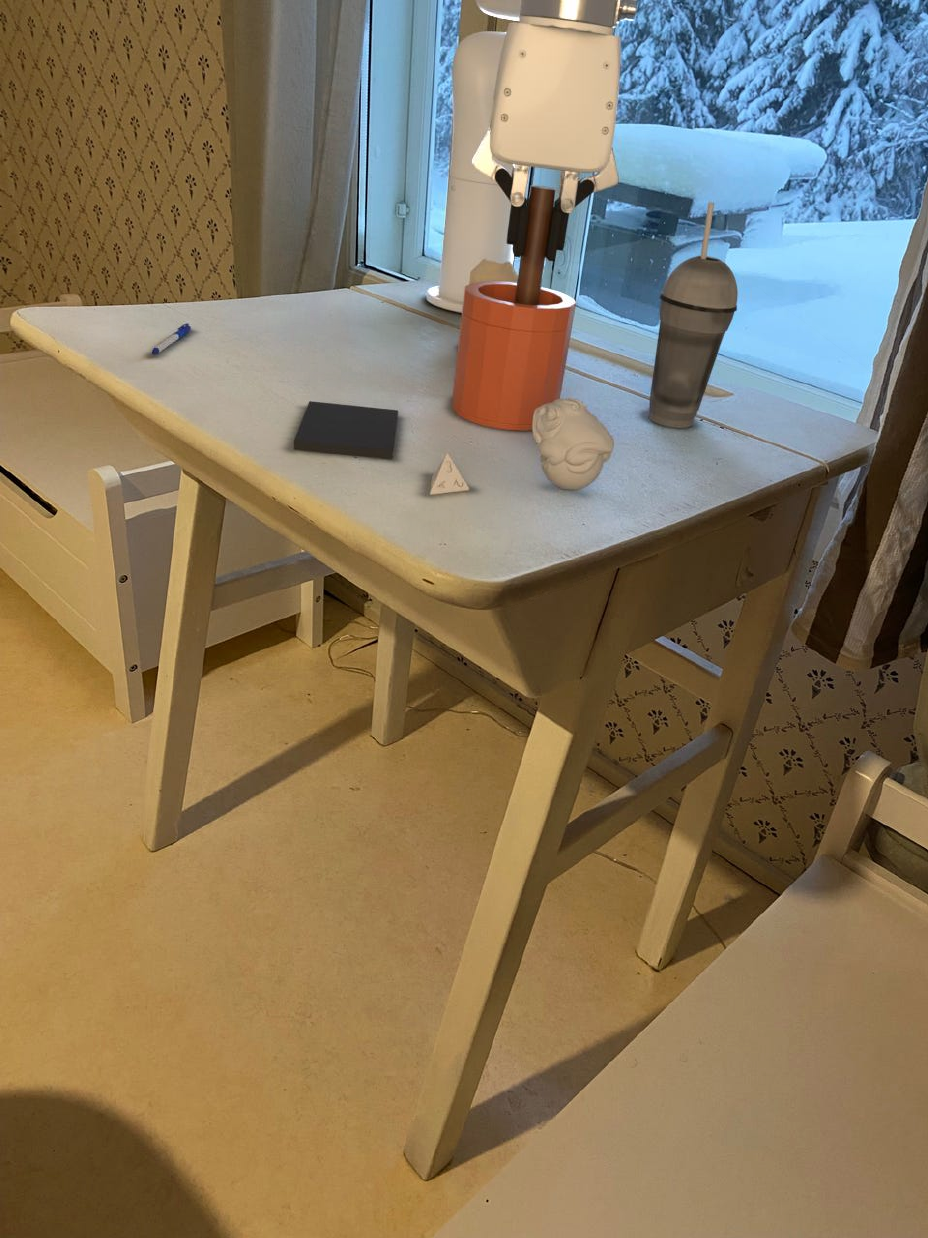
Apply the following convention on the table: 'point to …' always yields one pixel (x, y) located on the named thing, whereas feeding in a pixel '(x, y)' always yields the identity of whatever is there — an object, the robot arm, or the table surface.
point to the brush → (535, 245)
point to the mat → (347, 430)
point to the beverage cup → (690, 334)
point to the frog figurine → (570, 443)
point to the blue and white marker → (172, 338)
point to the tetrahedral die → (447, 478)
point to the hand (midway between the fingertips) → (533, 254)
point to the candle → (493, 272)
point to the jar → (510, 354)
